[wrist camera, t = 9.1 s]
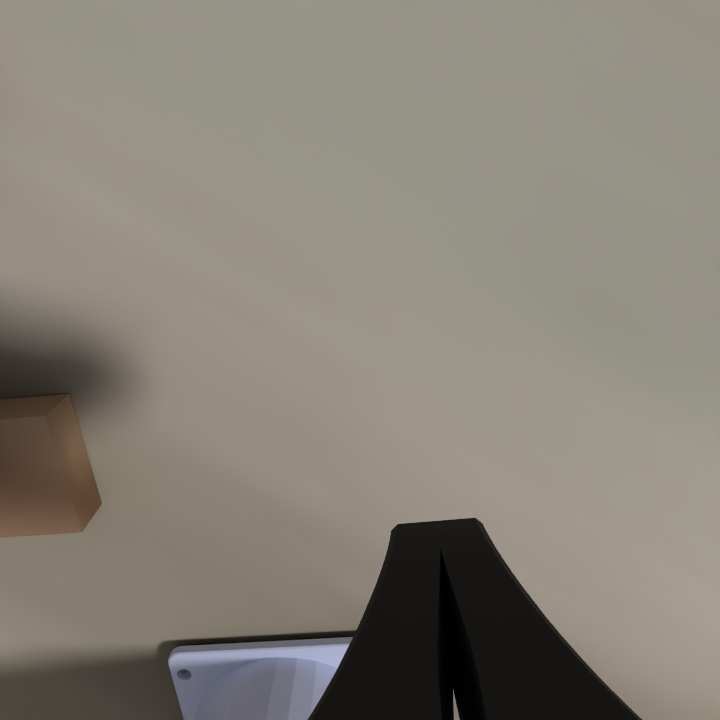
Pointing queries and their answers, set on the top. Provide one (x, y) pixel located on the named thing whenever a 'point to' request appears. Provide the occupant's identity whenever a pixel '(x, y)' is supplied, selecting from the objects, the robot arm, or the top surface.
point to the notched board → (43, 468)
